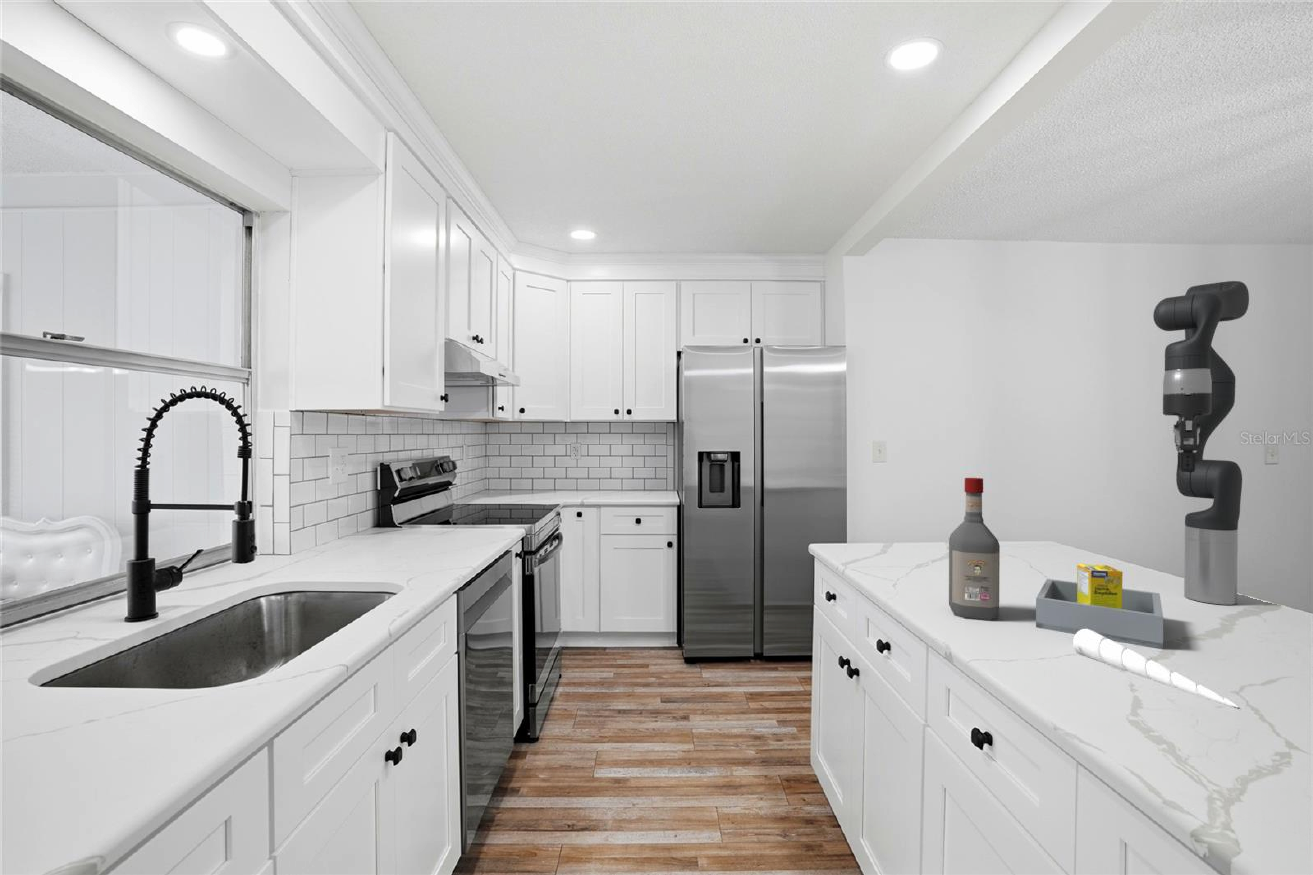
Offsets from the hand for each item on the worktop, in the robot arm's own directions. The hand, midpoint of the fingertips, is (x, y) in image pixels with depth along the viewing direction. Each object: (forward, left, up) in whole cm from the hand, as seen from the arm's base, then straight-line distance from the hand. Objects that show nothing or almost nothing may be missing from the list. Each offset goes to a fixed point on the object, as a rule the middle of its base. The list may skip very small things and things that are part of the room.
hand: (1185, 470), depth 124 cm
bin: (+10, -14, -32) cm, 36 cm away
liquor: (+18, -36, -32) cm, 52 cm away
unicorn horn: (+36, -7, -33) cm, 49 cm away
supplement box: (+10, -14, -31) cm, 36 cm away
